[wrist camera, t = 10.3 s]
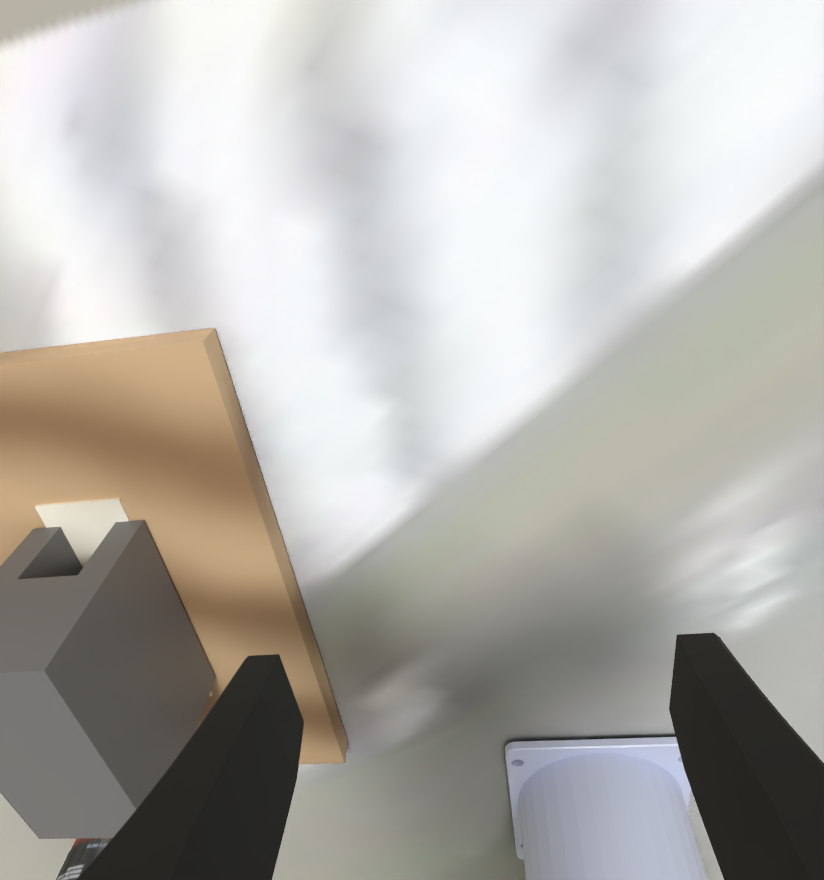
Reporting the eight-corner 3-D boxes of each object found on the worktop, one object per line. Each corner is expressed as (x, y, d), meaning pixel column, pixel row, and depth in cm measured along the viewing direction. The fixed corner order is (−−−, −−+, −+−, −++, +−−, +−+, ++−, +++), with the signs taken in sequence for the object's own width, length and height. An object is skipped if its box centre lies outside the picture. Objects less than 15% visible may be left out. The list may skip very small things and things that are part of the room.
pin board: (347, 741, 29) (337, 809, 26) (102, 749, 30) (69, 813, 28) (214, 327, 19) (176, 372, 16) (-148, 370, 20) (-235, 417, 18)
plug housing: (215, 677, 25) (154, 837, 20) (121, 681, 26) (39, 838, 21) (143, 520, 21) (44, 670, 16) (33, 528, 22) (-97, 677, 17)
